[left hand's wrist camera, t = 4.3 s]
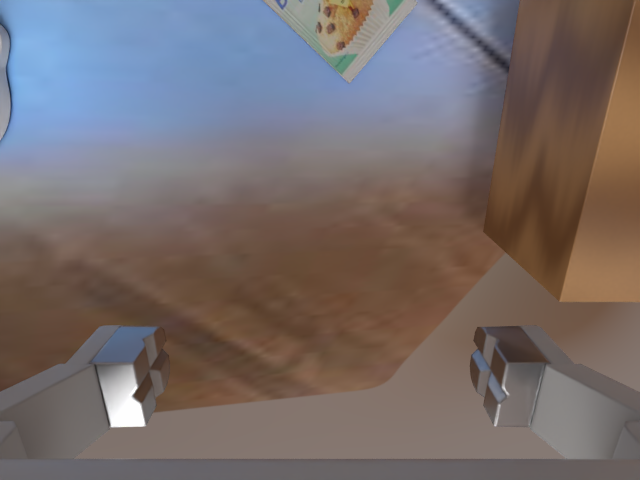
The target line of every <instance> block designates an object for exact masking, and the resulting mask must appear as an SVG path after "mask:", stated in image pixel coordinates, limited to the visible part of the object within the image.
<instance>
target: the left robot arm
mask: <svg viewBox="0 0 640 480" xmlns="http://www.w3.org/2000/svg"><path fill="white" fill-rule="evenodd" d="M9 49H10V39H9V35H8V33H7V31H6V30H5V29H4V27H3V26H2V25H1V24H0V140H1V139H2V137H3V135H4V133H5V131H6V129H7V126H8V123H9V118H10V110H11V101H10V92H9V87H8V81H7V76H6V64H7V60H8V55H9ZM165 342H166V336H165V331H164V329H163V328H162V327H161V326H121V325H113V326H101V327H99V328H98V329H97V330H96V331H95V332H94V333H93V335H92V336H91V337H90V338H89V339H88V340H87V341H86V342H85V343H84V344H83V345H82V347H81V348H80V349H79V350H78V351H77V352H76V353H75V354H74V355H73V356H72V357H71V358H70V360H69V361H68V362H67V363H66V364H58V365H56V366H54V367H52V368H50V369H48V370H46V371H43V372H41V373H39V374H37V375H35V376H33V377H31V378H29V379H27V380H25V381H23V382H20V383H18V384H16V385H14V386H12V387H10V388H8V389H6V390H4V391H2V392H0V480H640V392H638V391H636V390H634V389H632V388H630V387H628V386H626V385H624V384H621V383H619V382H617V381H615V380H613V379H611V378H609V377H607V376H605V375H603V374H601V373H599V372H597V371H594V370H592V369H590V368H588V367H586V366H584V365H582V364H574V363H573V362H572V361H571V360H570V358H568V356H567V355H566V354H565V353H564V352H563V351H562V350H561V349H560V348H559V347H558V345H557V344H556V343H555V342H554V341H553V340H552V339H551V338H550V337H549V336H548V335H547V333H546V332H545V331H544V330H543V329H542V328H541V327H539V326H536V325H528V326H500V327H477V329H476V331H475V336H474V342H475V344H476V346H477V347H478V349H477V350H476V351H475V352H474V353H473V354H472V355H471V361H470V373H471V379H472V383H473V386H474V388H475V390H476V392H477V393H479V394H480V395H482V396H483V397H484V398H485V399H484V407H485V409H486V411H487V413H488V415H489V417H490V419H491V421H492V423H493V425H494V426H501V427H530V429H531V430H532V431H533V432H534V433H536V434H537V435H538V436H539V437H541V438H542V439H543V440H544V441H545V442H547V443H548V444H549V445H550V446H552V447H553V448H554V449H555V450H556V451H558V452H559V453H560V454H561V455H563V456H564V457H565V458H566V459H74V458H75V457H76V456H78V455H79V454H80V453H81V452H83V451H84V450H85V449H86V448H87V447H89V446H90V445H91V444H92V443H94V442H95V441H96V440H97V439H98V438H100V437H101V436H102V435H103V434H104V433H106V432H107V431H108V430H109V429H110V427H138V426H146V425H147V423H148V421H149V419H150V417H151V415H152V413H153V411H154V409H155V407H156V406H157V405H156V399H155V398H156V397H157V396H158V395H160V394H161V393H163V392H164V390H165V388H166V385H167V383H168V379H169V374H170V360H169V355H168V354H167V353H166V352H165V351H164V350H163V349H162V347H163V346H164V344H165Z"/></svg>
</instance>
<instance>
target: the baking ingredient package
mask: <svg viewBox="0 0 640 480" xmlns="http://www.w3.org/2000/svg"><path fill="white" fill-rule="evenodd" d="M263 1H264V2H265V3H266V4H267V5H268V6H270V7H271V8H272V9H273V10H274V11H275V12H276V13H277V14H278V15H279V16H280V17H281V18H282V19H283V20H284V21H285V22H286V23H287V24H288V25H289V26H290V27H291V28H292V29H293V30H294V31H295V32H296V33H297V34H298V35H299V36H301V37H302V38H303V39H304V40H305V41H306V42H307V43H308V44H309V45H310V46H311V47H312V48H313V49H314V50H315V51H316V52H317V53H318V54H319V55H320V56H321V57H322V58H323V59H324V60H325V61H326V62H327V63H328V64H329V65H331V66H332V67H333V68H334V69H335V70H336V71H337V72H338V73H339V74H340V75H341V76H342V77H343V78H344V79H345V80H346V81H347V82H348V83H350V82H351V81H352V80H353V79H354V78H355V76H356V75H357V74H358V73H359V72H360V71H361V69H362V68H363V67H364V66H365V65H366V64H367V62H368V61H369V60H370V59H371V58H372V56H373V55H374V54H375V53H376V52H377V50H378V49H379V48H380V47H381V46H382V45H383V43H384V42H385V41H386V40H387V39H388V38H389V36H390V35H391V34H392V33H393V32H394V30H395V29H396V28H397V27H398V26H399V25H400V23H401V22H402V21H403V20H404V19H405V17H406V16H407V15H408V14H409V13H410V12H411V10H412V9H413V8H414V7H415V6H416V5H417V2H416V1H415V0H263Z"/></svg>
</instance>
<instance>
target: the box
mask: <svg viewBox="0 0 640 480" xmlns="http://www.w3.org/2000/svg"><path fill="white" fill-rule="evenodd" d="M483 232H484V233H485V234H486V235H487V236H489V237H490V238H491V239H492V240H493V241H494V242H495V243H496V244H497V245H498V246H499V247H501V248H502V249H503V250H504V251H505V252H506V253H507V254H508V255H509V256H510V257H511V258H513V259H514V260H515V261H516V262H517V263H518V264H519V265H520V266H521V267H522V268H524V269H525V270H526V271H527V272H528V273H529V274H530V275H531V276H532V277H533V278H534V279H535V280H537V281H538V282H539V283H540V284H541V285H542V286H543V287H544V288H545V289H546V290H547V291H549V292H550V293H551V294H552V295H553V296H554V297H555V298H556V299H557V300H558V301H560V302H640V0H520V3H519V9H518V15H517V22H516V28H515V34H514V41H513V47H512V53H511V60H510V66H509V72H508V79H507V85H506V91H505V98H504V104H503V110H502V117H501V123H500V129H499V136H498V142H497V148H496V155H495V161H494V167H493V174H492V180H491V186H490V193H489V199H488V205H487V212H486V218H485V224H484V231H483Z"/></svg>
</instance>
